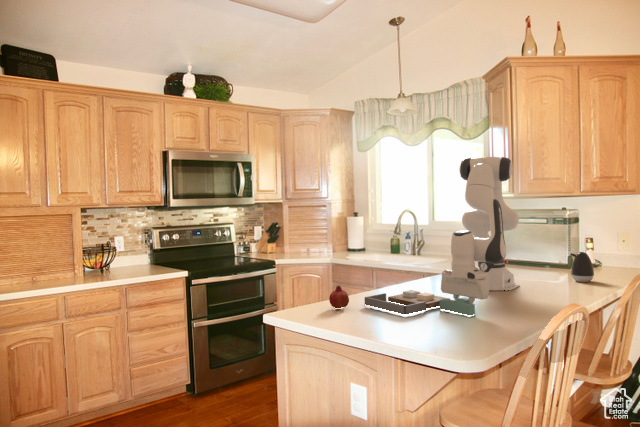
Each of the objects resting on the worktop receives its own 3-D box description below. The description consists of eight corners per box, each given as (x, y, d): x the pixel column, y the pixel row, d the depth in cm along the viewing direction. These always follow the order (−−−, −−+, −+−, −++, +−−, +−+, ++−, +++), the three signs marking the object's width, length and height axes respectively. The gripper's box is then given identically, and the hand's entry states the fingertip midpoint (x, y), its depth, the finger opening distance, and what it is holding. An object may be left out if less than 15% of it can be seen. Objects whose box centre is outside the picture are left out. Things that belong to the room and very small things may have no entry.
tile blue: (411, 294, 194) (410, 290, 194) (419, 296, 189) (419, 291, 189) (403, 296, 191) (402, 291, 191) (411, 298, 187) (411, 293, 187)
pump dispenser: (571, 279, 234) (571, 250, 234) (595, 280, 228) (594, 251, 227) (569, 282, 226) (568, 252, 225) (593, 283, 219) (592, 253, 219)
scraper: (454, 307, 180) (454, 295, 180) (484, 313, 169) (484, 300, 169) (439, 310, 175) (439, 298, 175) (470, 317, 164) (469, 304, 164)
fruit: (351, 311, 179) (350, 286, 179) (331, 312, 178) (330, 288, 178) (346, 306, 187) (346, 283, 187) (328, 308, 186) (327, 284, 186)
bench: (414, 298, 200) (413, 291, 200) (450, 305, 183) (449, 298, 183) (388, 303, 190) (388, 296, 190) (423, 312, 174) (423, 304, 174)
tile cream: (425, 297, 187) (425, 292, 187) (434, 299, 183) (434, 294, 183) (417, 299, 184) (416, 294, 184) (426, 301, 180) (426, 296, 180)
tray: (385, 303, 191) (384, 293, 191) (426, 312, 173) (425, 301, 173) (364, 307, 185) (364, 297, 185) (405, 318, 166) (404, 306, 166)
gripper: (436, 270, 179) (437, 304, 180) (480, 275, 162) (481, 313, 163) (447, 268, 183) (447, 301, 183) (491, 273, 166) (492, 310, 166)
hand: (464, 307), depth 173 cm, fingers closed on scraper, 3 cm apart
